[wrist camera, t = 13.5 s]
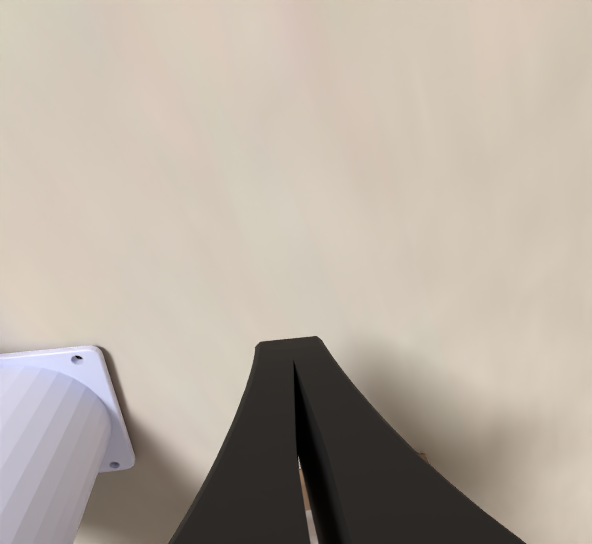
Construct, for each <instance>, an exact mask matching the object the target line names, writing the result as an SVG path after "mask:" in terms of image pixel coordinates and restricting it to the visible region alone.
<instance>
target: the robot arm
mask: <svg viewBox="0 0 592 544" xmlns="http://www.w3.org/2000/svg"><path fill="white" fill-rule="evenodd" d="M75 355H77V356H80V357H82V358H83V359H78V358H76V357H75ZM298 456H299V460H300V465H301V469H302V474H303V478H304V482H305V487H306V491H307V496H308V500H309V504H310V509H311V513H312V517H313V522H314V526H315V530H316V535H317V539H318V544H526V543H525V542H524V541H522V540H521V539H520V538H518V537H517V536H516V535H514V534H513V533H512V532H510V531H509V530H508V529H507V528H505V527H504V526H503V525H501V524H500V523H499V522H497V521H496V520H495V519H493V518H492V517H491V516H490V515H488V514H487V513H486V512H484V511H483V510H482V509H481V508H479V507H478V506H477V505H476V504H475V503H473V502H472V501H471V500H470V499H469V498H467V497H466V496H465V495H464V494H463V493H462V492H460V491H459V490H458V489H457V488H456V487H454V486H453V485H452V484H451V483H450V482H449V481H447V480H446V479H445V478H444V477H443V476H442V475H441V474H440V473H439V472H437V471H436V470H435V469H434V468H433V467H432V466H431V465H430V464H429V463H427V462H426V461H425V460H424V459H423V458H422V457H421V456H420V455H419V454H418V453H417V452H416V451H415V450H414V449H413V448H412V447H411V446H410V445H409V444H408V443H407V442H406V441H405V440H404V439H403V438H402V437H401V436H400V435H399V434H398V433H397V432H396V431H395V430H394V429H393V428H392V427H391V426H390V425H389V424H388V423H387V422H386V421H385V420H384V419H383V418H382V416H381V415H380V414H379V413H378V412H377V411H376V410H375V409H374V408H373V406H372V405H371V404H370V403H369V402H368V401H367V399H366V398H365V397H364V396H363V395H362V394H361V392H360V391H359V390H358V389H357V388H356V387H355V385H354V384H353V383H352V382H351V380H350V379H349V378H348V377H347V375H346V374H345V373H344V371H343V370H342V369H341V367H340V366H339V365H338V364H337V362H336V361H335V359H334V358H333V357H332V355H331V354H330V352H329V351H328V349H327V348H326V346H325V345H324V343H323V341H322V340H321V339H320V338H318V337H317V336H313V337H303V338H293V339H283V340H273V341H263V342H260V343H259V344H258V345H257V346H256V347H255V355H254V360H253V365H252V369H251V372H250V376H249V379H248V382H247V385H246V388H245V391H244V394H243V396H242V399H241V402H240V404H239V407H238V410H237V412H236V415H235V417H234V420H233V422H232V425H231V427H230V429H229V431H228V433H227V436H226V438H225V440H224V442H223V444H222V447H221V449H220V451H219V453H218V455H217V458H216V460H215V462H214V464H213V466H212V468H211V469H210V471H209V473H208V475H207V477H206V479H205V481H204V483H203V485H202V487H201V489H200V490H199V492H198V494H197V496H196V498H195V499H194V501H193V503H192V505H191V507H190V508H189V510H188V512H187V514H186V515H185V517H184V519H183V520H182V522H181V524H180V525H179V527H178V529H177V530H176V532H175V534H174V535H173V537H172V538H171V540H170V542H169V543H168V544H311V542H310V536H309V530H308V524H307V518H306V512H305V505H304V499H303V492H302V486H301V480H300V473H299V463H298ZM134 463H135V455H134V451H133V448H132V445H131V442H130V439H129V436H128V432H127V429H126V426H125V423H124V420H123V417H122V413H121V410H120V407H119V404H118V401H117V397H116V394H115V391H114V388H113V385H112V382H111V378H110V375H109V372H108V369H107V366H106V363H105V359H104V356H103V353H102V351H101V350H100V349H99V348H98V347H95V346H91V345H87V346H77V347H67V348H56V349H46V350H36V351H26V352H15V353H5V354H0V544H73V542H74V540H75V537H76V534H77V531H78V528H79V525H80V522H81V520H82V517H83V514H84V511H85V508H86V505H87V503H88V500H89V497H90V494H91V491H92V488H93V485H94V483H95V480H96V477H97V474H98V473H102V472H110V471H119V470H126V469H130V468H131V467H133V465H134Z"/></svg>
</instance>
